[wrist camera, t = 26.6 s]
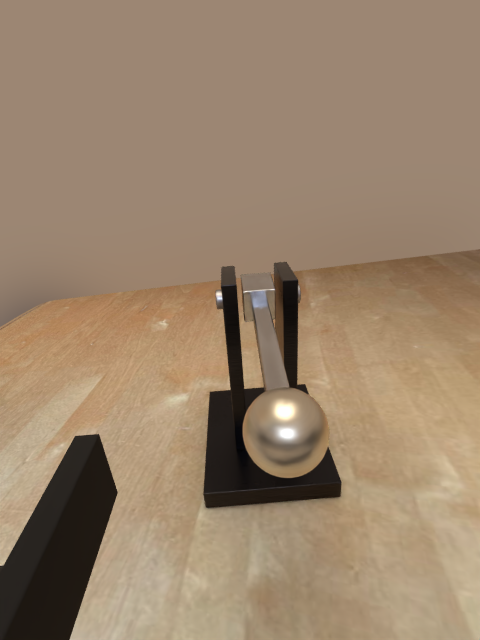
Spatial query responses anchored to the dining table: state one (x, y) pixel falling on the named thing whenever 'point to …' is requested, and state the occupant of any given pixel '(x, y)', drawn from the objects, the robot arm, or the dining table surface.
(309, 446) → the silver ball lever
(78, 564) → the robot arm
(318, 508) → the dining table surface
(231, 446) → the stand
